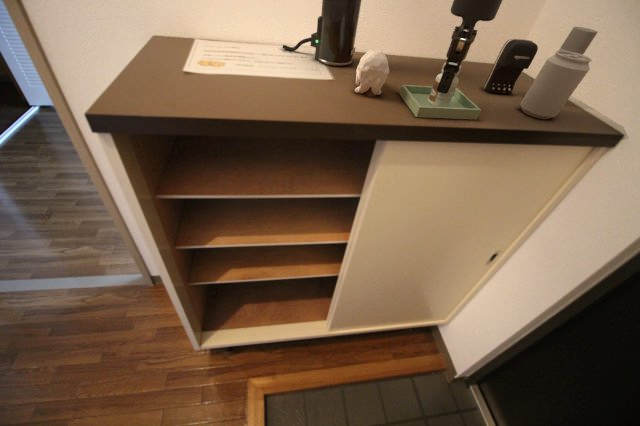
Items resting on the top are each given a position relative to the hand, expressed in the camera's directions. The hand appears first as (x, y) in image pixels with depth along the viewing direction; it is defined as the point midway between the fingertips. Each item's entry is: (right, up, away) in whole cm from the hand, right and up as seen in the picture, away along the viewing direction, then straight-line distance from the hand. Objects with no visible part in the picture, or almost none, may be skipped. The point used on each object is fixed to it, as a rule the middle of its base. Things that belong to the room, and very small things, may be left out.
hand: (443, 87), depth 58 cm
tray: (0, -3, +3) cm, 4 cm away
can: (+23, -3, +6) cm, 24 cm away
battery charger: (+19, +4, +13) cm, 23 cm away
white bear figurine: (-15, +3, +7) cm, 17 cm away
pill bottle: (0, -2, +3) cm, 3 cm away
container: (+29, +2, +12) cm, 31 cm away
